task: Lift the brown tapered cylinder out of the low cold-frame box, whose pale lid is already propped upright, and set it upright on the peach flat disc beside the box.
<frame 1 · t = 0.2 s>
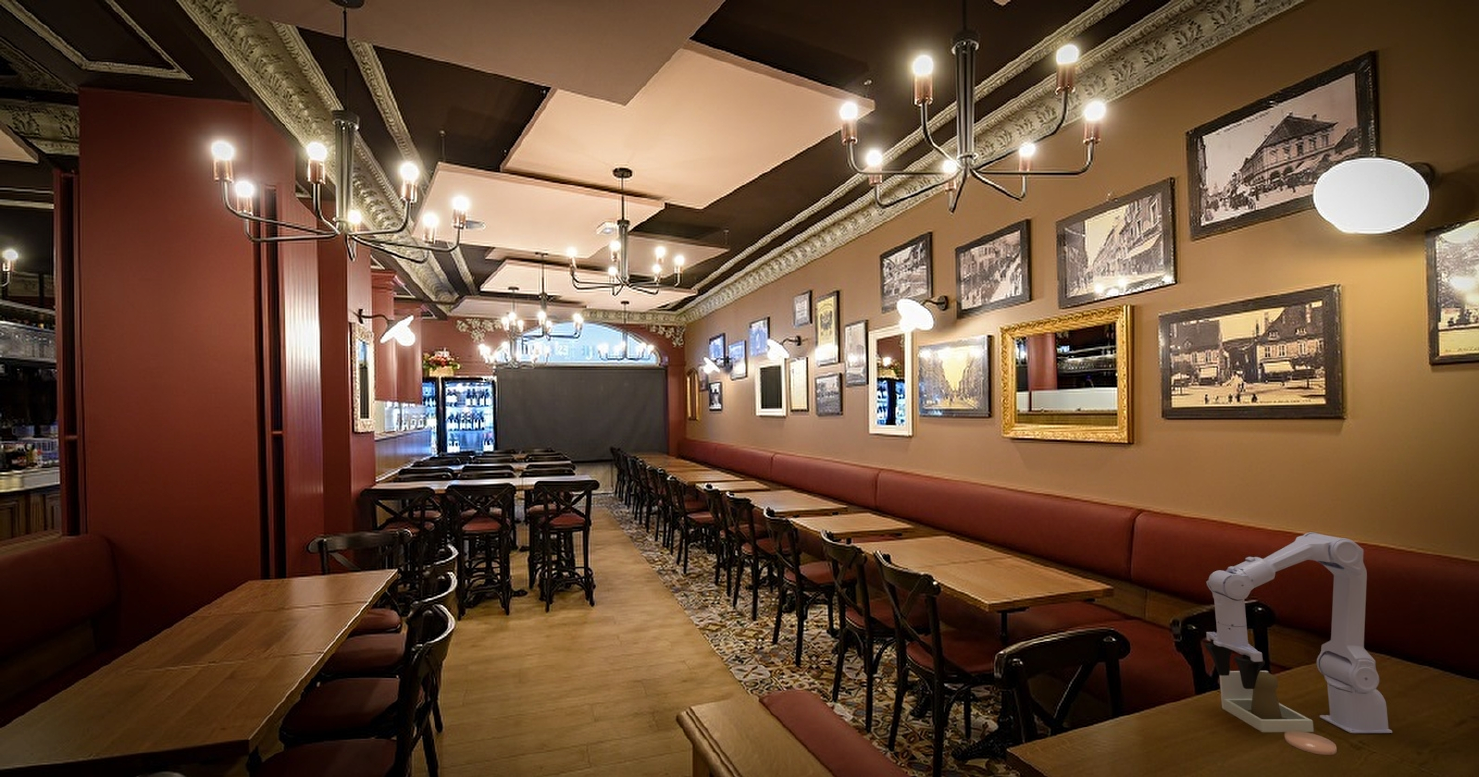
hand: (1236, 681, 144), 10 cm above the table, tool pointing down, fingers open, 7 cm apart
peach flat disc: (1310, 744, 134), on the table
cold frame: (1266, 719, 146), on the table
brown tapered cylinder: (1267, 720, 146), resting in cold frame
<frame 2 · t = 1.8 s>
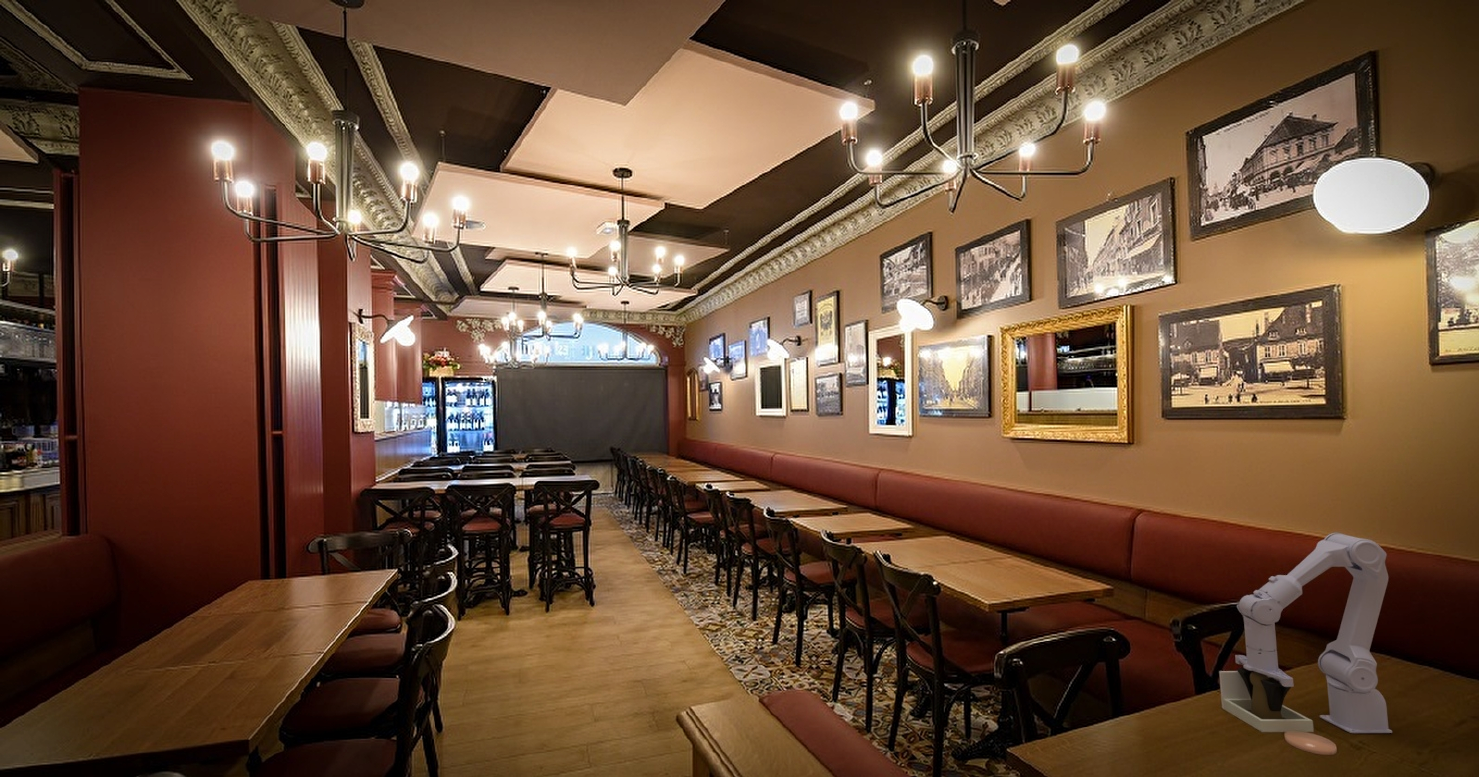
hand: (1265, 705, 146), 3 cm above the table, tool pointing down, fingers closed on brown tapered cylinder, 5 cm apart
brown tapered cylinder: (1267, 720, 146), resting in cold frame, touching gripper
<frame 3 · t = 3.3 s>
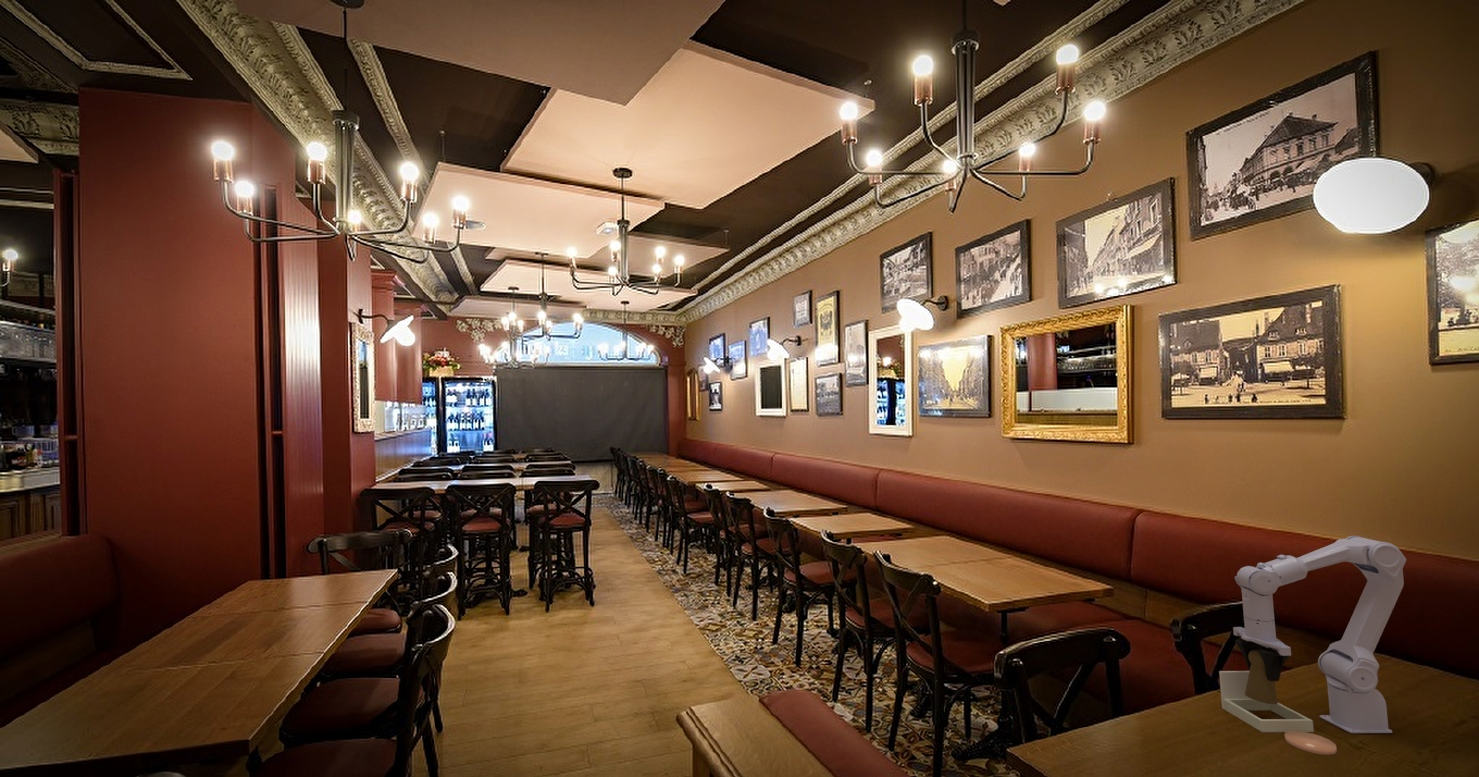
hand: (1263, 675, 146), 10 cm above the table, tool pointing down, fingers closed on brown tapered cylinder, 5 cm apart
brown tapered cylinder: (1261, 699, 146), point 5 cm above the table, touching gripper
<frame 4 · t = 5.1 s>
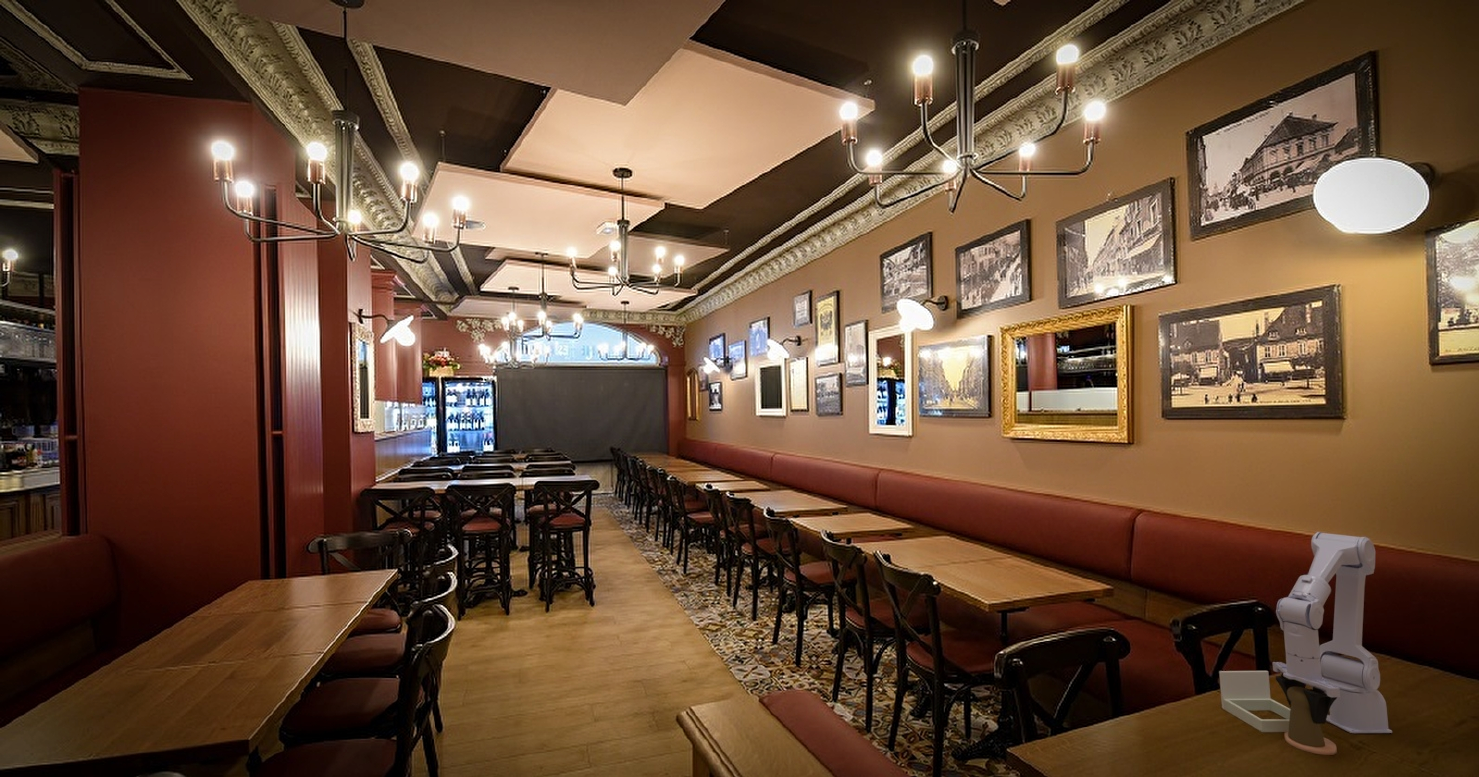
hand: (1307, 716, 135), 6 cm above the table, tool pointing down, fingers closed on brown tapered cylinder, 5 cm apart
brown tapered cylinder: (1306, 741, 134), point 1 cm above the table, touching gripper, peach flat disc
when the fingers open (6 cm above the table, at t = 5.4 s): brown tapered cylinder stays where it is, resting on peach flat disc.
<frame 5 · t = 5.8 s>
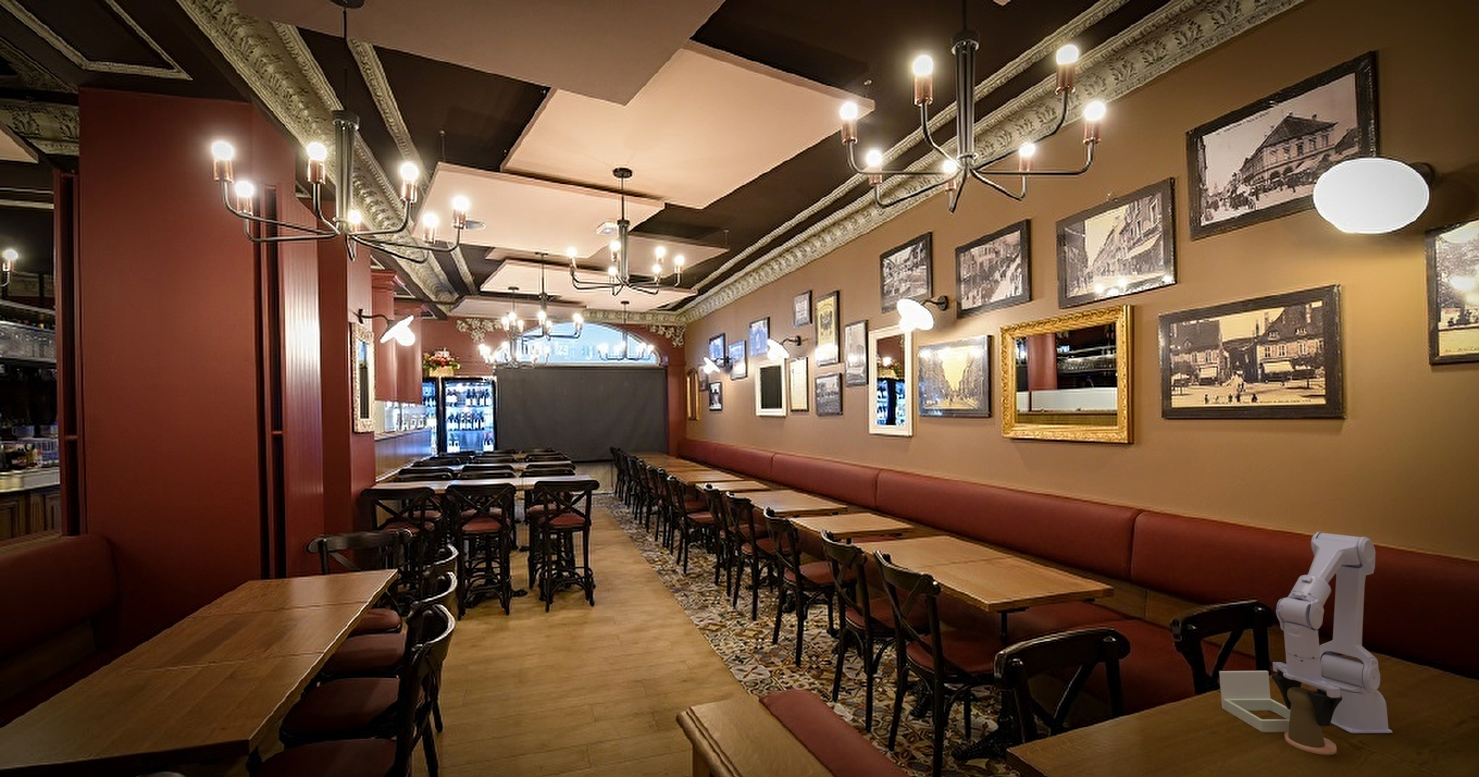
hand: (1307, 717, 135), 6 cm above the table, tool pointing down, fingers open, 7 cm apart
brown tapered cylinder: (1306, 741, 134), point 1 cm above the table, touching peach flat disc
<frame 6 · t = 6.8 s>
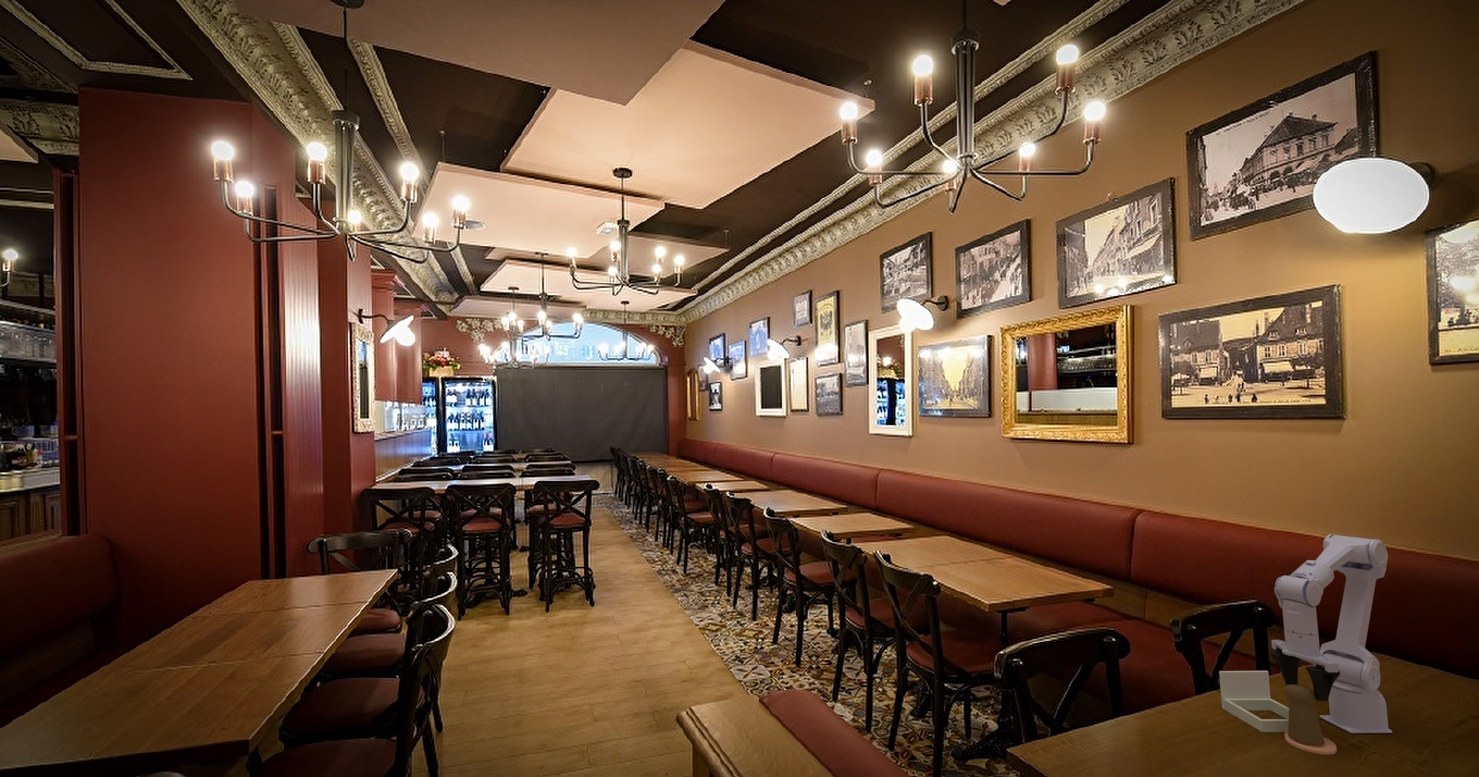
hand: (1306, 692, 137), 10 cm above the table, tool pointing down, fingers open, 7 cm apart
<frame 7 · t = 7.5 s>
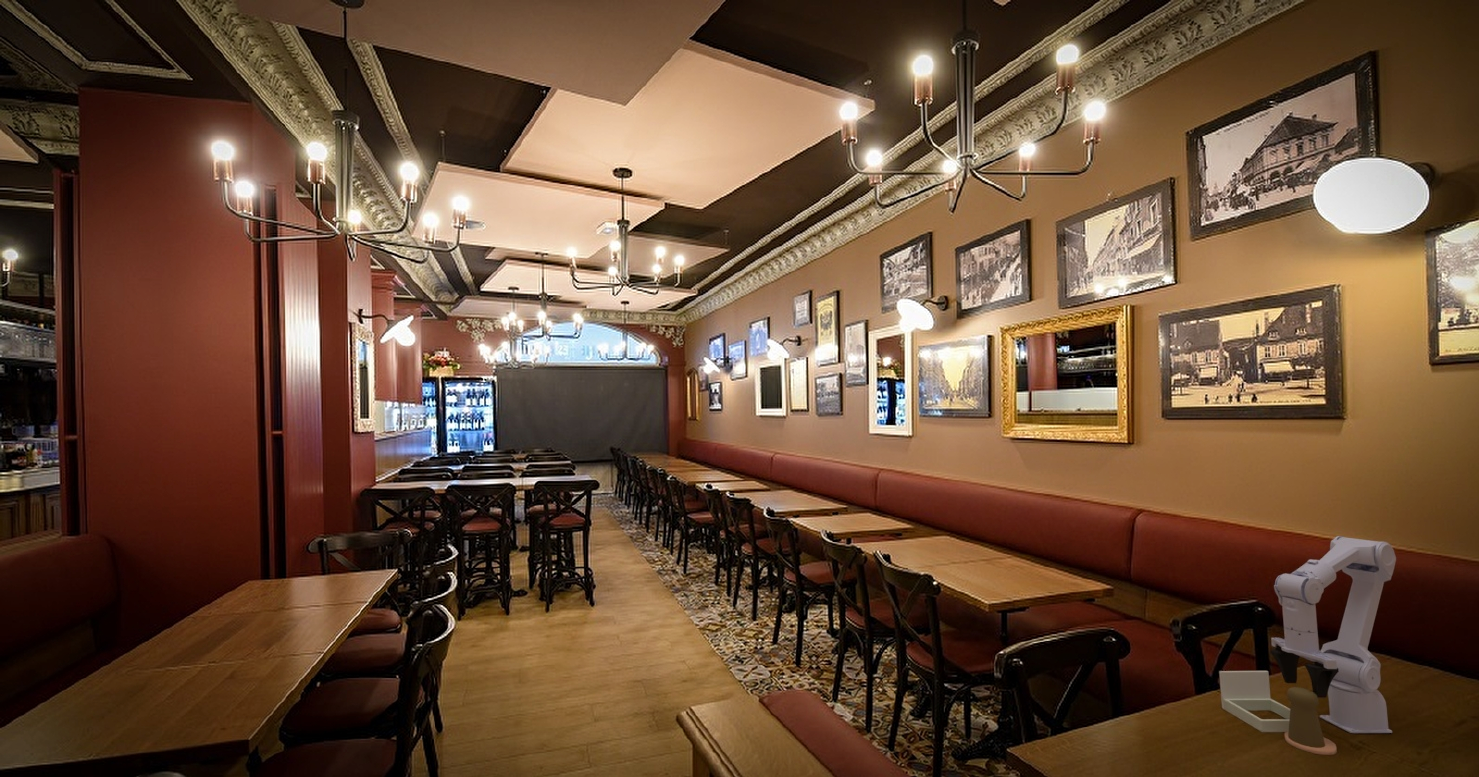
hand: (1305, 689, 138), 10 cm above the table, tool pointing down, fingers open, 7 cm apart
brown tapered cylinder: (1306, 741, 134), point 1 cm above the table, touching gripper, peach flat disc
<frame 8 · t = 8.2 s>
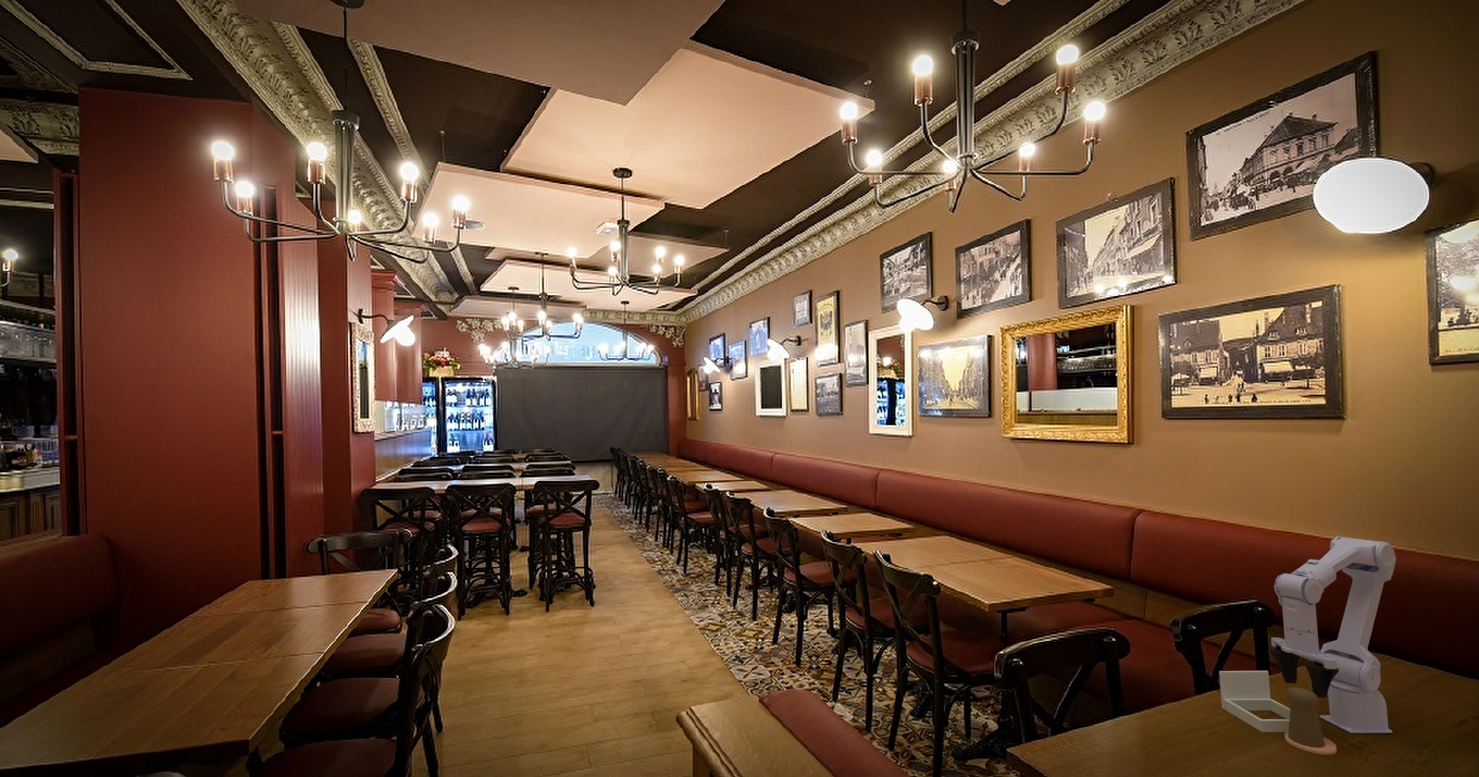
hand: (1305, 689, 138), 10 cm above the table, tool pointing down, fingers open, 7 cm apart
nothing on the table moved.
at the end: brown tapered cylinder 1.0 cm off-centre on the peach flat disc, point 0.8 cm above the peach flat disc's base; brown tapered cylinder tilted 0°; the gripper is holding nothing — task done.
